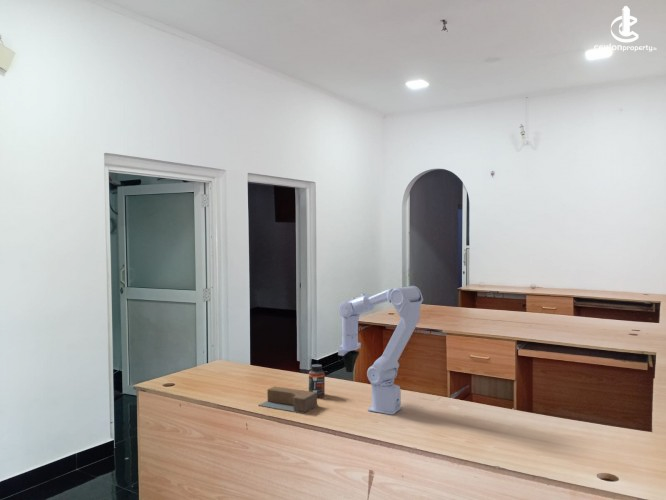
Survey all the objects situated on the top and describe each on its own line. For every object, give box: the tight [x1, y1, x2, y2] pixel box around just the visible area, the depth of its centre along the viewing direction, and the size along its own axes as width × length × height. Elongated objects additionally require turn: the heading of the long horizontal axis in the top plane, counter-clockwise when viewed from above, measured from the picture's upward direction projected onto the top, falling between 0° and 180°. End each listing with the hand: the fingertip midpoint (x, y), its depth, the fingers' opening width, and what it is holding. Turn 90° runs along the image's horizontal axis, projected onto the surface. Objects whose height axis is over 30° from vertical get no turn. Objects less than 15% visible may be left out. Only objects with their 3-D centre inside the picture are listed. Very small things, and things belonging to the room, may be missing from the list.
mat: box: [258, 400, 318, 414], centre depth 181 cm, size 18×10×1 cm, turn 62°
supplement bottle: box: [308, 363, 326, 398], centre depth 193 cm, size 6×6×11 cm
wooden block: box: [266, 386, 318, 413], centre depth 180 cm, size 9×4×18 cm
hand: (349, 371), depth 186 cm, fingers closed
